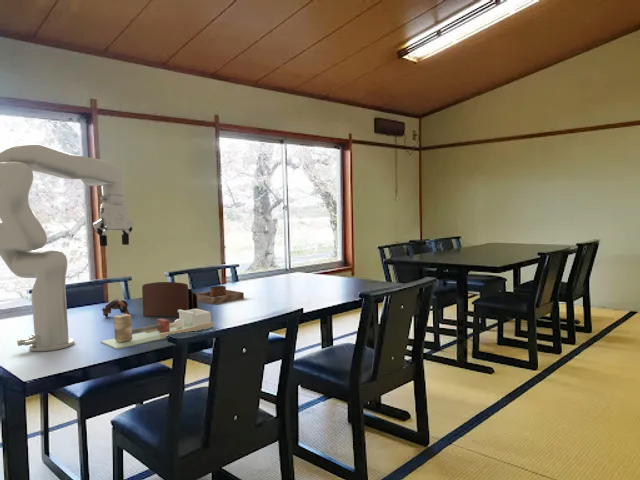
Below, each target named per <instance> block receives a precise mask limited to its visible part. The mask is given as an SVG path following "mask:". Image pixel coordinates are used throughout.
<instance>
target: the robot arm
mask: <svg viewBox="0 0 640 480" xmlns="http://www.w3.org/2000/svg"><path fill="white" fill-rule="evenodd" d="M34 172H36V173H41V174H46V175H49V176H53V177H57V178H61V179H66V180H80V181H82V183H83V184H85V185H86V186H90V187H98V186H99V187H101V193H102V194H101V195H102V196H100V198H99V200H100V201H102V202H101V203H100V211H99V219H98V220H97V221H95V222H93V223H92V226H93V228H94V231H95V232H96V233H97V235H98V237H99V245H100V247H107V246H108V237H107V232H108V231H120V232H121V233H122V234H121V244H122V246H126V245H127V246H128V245H129V244H130V236H129V235H131V232H132V230H133V227H134V225H135V223H134V222H132V221H131V220H130V219H129V212H128V207H127V204H126V203H125V197H124V196H125V195H124V173H123V170H122V168H120V167H118V166H117V165H116V164H114V163H112V162H110V161H106V160H103V159H100V158H94V157H88V156H83V155H78V154H71V153H68V152H66V151H65V152H64V151H61V150H59V149H56V148H52V147H49V146H46V145H43V144H39V143H26V144H16V145H12V146H10V147H8V148H6V149H5V150H3V151H1V152H0V220H1V222H0V257H1V259H2V260H3V262H4V263H5V265H6V266H7V268H9V270H10V271H11V272H12V273H13V274H14V275H15V276H17V277H19V278H24V279H35V281H34V284H33V286H32V290H31V304H32V316H33V317H32V319H33V333H31V336H28V338H21V339H17V341H16V344H17V346H18V347H22V346H25V347H26V346H29V350H30V351H31V352H50V351H55V350H56V351H57V350H61V349H65V348H69V347H71V346H73V345H74V344H75V339H74V338H72V337H70V336H69V322H68V305H67V291H66V290H67V289H66V278H67V271H68V258H67V256H66V254H65V253H64V252H63V251H62V250H60V249H56V248H49V247H48V248H46V247H45V246H46V244H47V241H48V236H47V233H46V231H45V229H44V227H43V226H42V224H41V222H40V221H39V219H38V217H37V216H36V214H35V212H34V210H33V209H32V207H31V204H30V202H29V196H30V191H31V188H32V186H33V182H34Z"/></svg>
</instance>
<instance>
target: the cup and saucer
mask: <svg viewBox="0 0 640 480" xmlns="http://www.w3.org/2000/svg"><path fill="white" fill-rule="evenodd" d="M226 288H227V287H226V286H225V285H215V286H210V287H209V291H210V295H208V296H209V297H219V296H224V295H230V294H226V290H227V289H226Z"/></svg>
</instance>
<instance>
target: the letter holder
mask: <svg viewBox="0 0 640 480" xmlns="http://www.w3.org/2000/svg"><path fill="white" fill-rule="evenodd" d="M193 291H194V290H192V289H191V288H189V286H188V284H187V283H183V282H176V281H175V282H174V281H173V282H172V281H159V282H158V281H157V282H155V281H154V282H150V283H145V284H142V286H141V292H142V295H141V296H142V316H143V317H179V312H178V310H184V311H186V310H191V309H199V308H198V301H197V295H196V294H197V293H195V292H193Z"/></svg>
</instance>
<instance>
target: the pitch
mask: <svg viewBox="0 0 640 480" xmlns="http://www.w3.org/2000/svg"><path fill="white" fill-rule="evenodd" d="M178 312H179V316H178V317H179V318H178V319H182V320H183V321H184V326H183V328H181V329H176V328H175V327H174V322H169V326H170V331H169V332H165V333H163V332H160V331H157V329H153V330H148V331H143V332H139V333H134V334H132V340H128V341H124V342H119V341H116V340H115V337H114V338H108V339H106V340H101V341H100V343H101V344H103V345H106V346H108V347H110V348H112V349H114V350H120V349H124V348H128V347H133V346H137V345H142V344H146V343H150V342H156V341H158V340H163V339H167V338H166V336H167V335H168V334H175V333H181V332H189V331H195V332H199V331H203V330H207V329H212V328H213V327H214V326H213V322H212V314H211V311H207V310H203V309H199V308H198V309H191V310H186V311H184V310H178ZM211 327H212V328H211ZM202 329H203V330H202ZM198 330H199V331H198Z"/></svg>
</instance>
